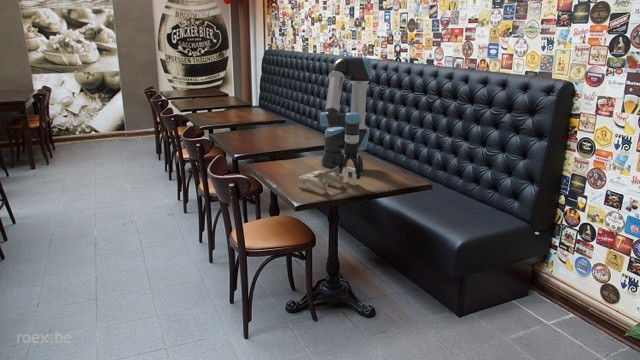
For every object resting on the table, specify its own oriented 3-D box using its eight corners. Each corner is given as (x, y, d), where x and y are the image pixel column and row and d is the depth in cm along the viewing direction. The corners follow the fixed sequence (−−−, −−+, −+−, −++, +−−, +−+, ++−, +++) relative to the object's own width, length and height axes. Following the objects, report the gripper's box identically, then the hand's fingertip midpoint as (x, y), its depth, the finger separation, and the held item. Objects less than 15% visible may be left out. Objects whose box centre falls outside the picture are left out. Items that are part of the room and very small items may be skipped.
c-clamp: (320, 179, 265) (320, 161, 262) (343, 185, 256) (344, 167, 253) (298, 187, 252) (298, 168, 249) (322, 193, 242) (322, 174, 239)
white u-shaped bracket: (345, 181, 264) (346, 166, 261) (357, 184, 259) (358, 169, 256) (342, 182, 261) (342, 167, 259) (354, 185, 257) (355, 170, 254)
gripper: (331, 140, 257) (330, 180, 264) (363, 146, 244) (361, 188, 251) (340, 138, 262) (338, 177, 269) (371, 144, 250) (369, 185, 257)
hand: (350, 182), depth 260 cm, fingers closed on white u-shaped bracket, 8 cm apart
